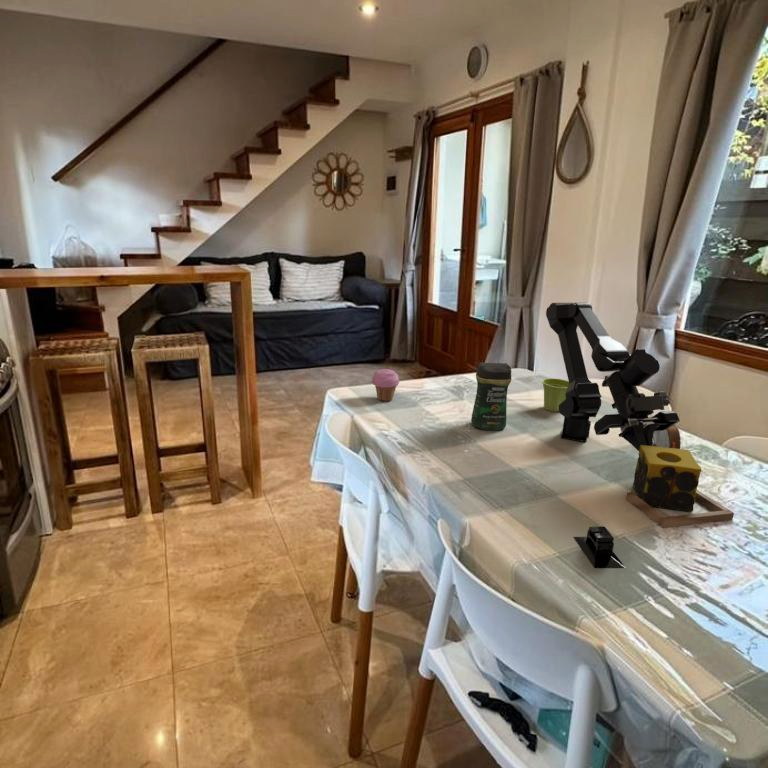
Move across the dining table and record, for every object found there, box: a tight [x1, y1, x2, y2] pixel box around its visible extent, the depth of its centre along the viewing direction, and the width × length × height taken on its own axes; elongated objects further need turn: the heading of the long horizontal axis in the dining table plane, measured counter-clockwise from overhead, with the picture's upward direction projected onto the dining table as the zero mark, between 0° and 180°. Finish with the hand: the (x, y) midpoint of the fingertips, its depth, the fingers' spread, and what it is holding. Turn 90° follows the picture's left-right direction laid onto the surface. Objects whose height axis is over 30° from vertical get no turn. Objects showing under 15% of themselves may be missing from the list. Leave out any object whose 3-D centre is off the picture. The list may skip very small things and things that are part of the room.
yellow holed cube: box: [632, 445, 702, 513], centre depth 113 cm, size 10×10×10 cm
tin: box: [653, 424, 682, 449], centre depth 137 cm, size 15×3×8 cm, turn 168°
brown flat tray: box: [625, 489, 735, 528], centre depth 110 cm, size 11×16×2 cm
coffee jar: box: [470, 362, 512, 431], centre depth 149 cm, size 10×8×19 cm
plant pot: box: [541, 377, 569, 413], centre depth 166 cm, size 9×9×9 cm
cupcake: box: [371, 368, 400, 402], centre depth 169 cm, size 9×9×10 cm
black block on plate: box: [572, 526, 626, 569], centre depth 95 cm, size 12×7×5 cm, turn 4°
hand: (649, 458), depth 118 cm, fingers closed
